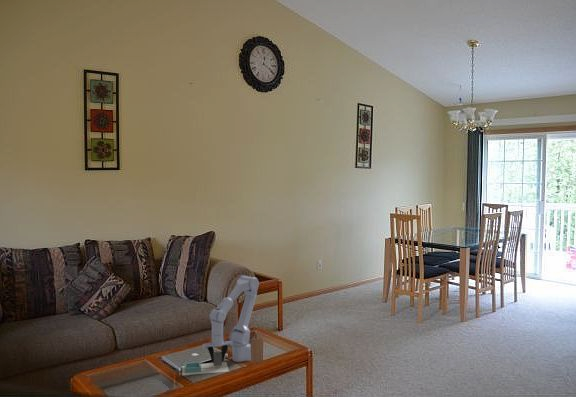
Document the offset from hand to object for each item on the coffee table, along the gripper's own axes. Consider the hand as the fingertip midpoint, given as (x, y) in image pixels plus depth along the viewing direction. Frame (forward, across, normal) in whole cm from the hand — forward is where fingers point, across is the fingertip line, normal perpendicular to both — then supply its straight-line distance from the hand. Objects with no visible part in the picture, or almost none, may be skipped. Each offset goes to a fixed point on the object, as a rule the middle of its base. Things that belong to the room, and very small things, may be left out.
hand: (217, 361), depth 231 cm
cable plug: (+1, 0, 0) cm, 1 cm away
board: (+4, +6, -1) cm, 7 cm away
